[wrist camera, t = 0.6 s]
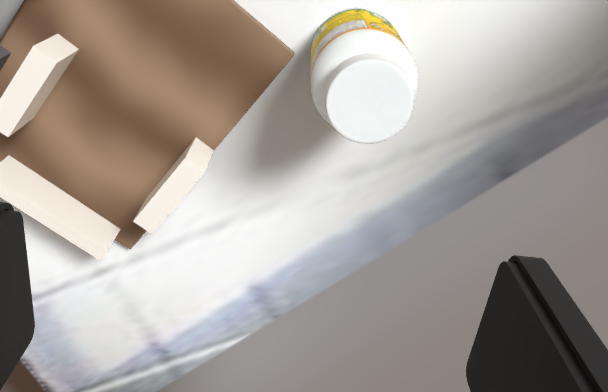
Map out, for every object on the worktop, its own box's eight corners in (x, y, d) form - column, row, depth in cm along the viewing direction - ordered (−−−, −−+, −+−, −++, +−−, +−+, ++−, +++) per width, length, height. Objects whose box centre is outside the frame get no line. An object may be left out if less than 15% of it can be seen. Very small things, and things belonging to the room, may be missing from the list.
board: (43, -162, 31) (37, -164, 31) (294, 52, 36) (294, 55, 36) (-94, 93, 38) (-102, 96, 37) (133, 243, 43) (130, 249, 42)
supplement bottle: (296, 28, 36) (290, 71, 27) (382, -10, 35) (406, 21, 26) (331, 109, 38) (336, 173, 29) (412, 76, 37) (444, 132, 28)
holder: (57, 33, 35) (33, 45, 32) (213, 150, 39) (205, 172, 36) (-18, 152, 39) (-47, 173, 36) (130, 249, 42) (116, 276, 39)
